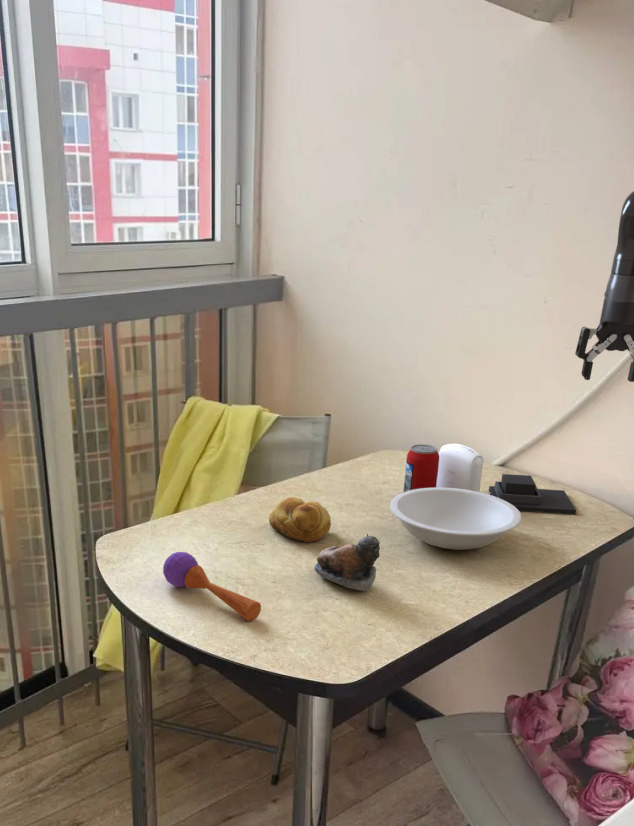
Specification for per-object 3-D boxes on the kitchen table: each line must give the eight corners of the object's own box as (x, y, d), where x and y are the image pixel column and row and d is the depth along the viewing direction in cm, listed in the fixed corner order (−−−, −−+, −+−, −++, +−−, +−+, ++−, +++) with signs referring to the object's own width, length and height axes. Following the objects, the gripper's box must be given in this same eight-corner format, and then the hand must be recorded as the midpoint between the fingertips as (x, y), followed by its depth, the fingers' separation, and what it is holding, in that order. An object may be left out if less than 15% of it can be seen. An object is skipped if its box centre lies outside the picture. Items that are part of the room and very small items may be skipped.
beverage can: (406, 493, 172) (412, 441, 167) (437, 498, 169) (443, 446, 164) (399, 503, 166) (404, 450, 162) (430, 508, 164) (436, 454, 159)
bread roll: (258, 530, 153) (258, 492, 150) (291, 517, 159) (293, 480, 156) (306, 550, 144) (308, 510, 141) (340, 536, 150) (342, 497, 147)
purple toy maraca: (238, 606, 116) (153, 556, 129) (241, 636, 120) (158, 584, 132) (265, 587, 120) (180, 540, 132) (267, 616, 123) (184, 568, 135)
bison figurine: (306, 578, 134) (308, 524, 130) (332, 565, 138) (335, 513, 134) (362, 602, 126) (366, 546, 122) (387, 588, 131) (392, 533, 126)
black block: (528, 492, 170) (531, 475, 168) (532, 502, 165) (535, 484, 163) (499, 491, 171) (502, 473, 169) (503, 500, 166) (506, 483, 164)
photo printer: (431, 495, 171) (437, 441, 166) (444, 491, 173) (451, 438, 168) (466, 509, 163) (474, 453, 158) (480, 505, 165) (488, 450, 160)
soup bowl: (543, 549, 145) (549, 517, 142) (451, 579, 134) (456, 544, 131) (449, 509, 164) (453, 479, 161) (361, 532, 152) (364, 500, 150)
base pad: (563, 494, 172) (565, 482, 171) (575, 514, 161) (578, 502, 160) (488, 490, 174) (490, 478, 173) (496, 509, 164) (498, 497, 162)
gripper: (591, 299, 150) (576, 382, 156) (670, 301, 148) (651, 385, 154) (582, 295, 157) (568, 375, 163) (657, 296, 154) (640, 377, 161)
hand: (608, 380), depth 159 cm, fingers open, 8 cm apart
